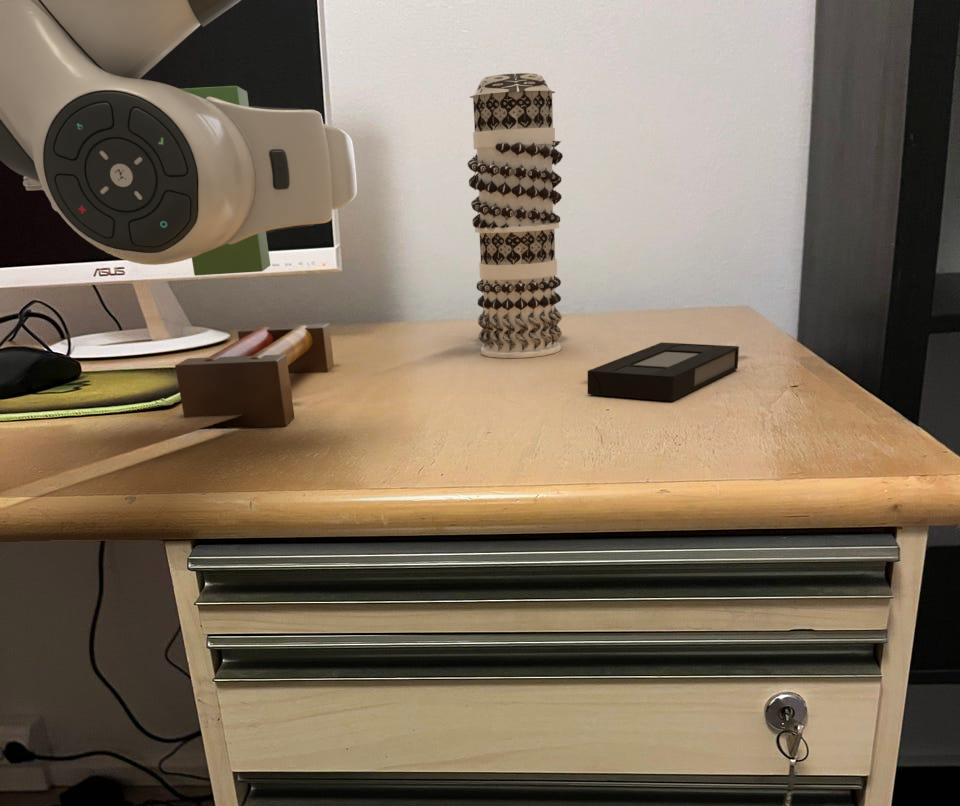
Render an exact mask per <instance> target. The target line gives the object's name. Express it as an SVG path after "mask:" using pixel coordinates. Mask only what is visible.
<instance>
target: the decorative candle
mask: <svg viewBox="0 0 960 806" xmlns="http://www.w3.org/2000/svg"><path fill="white" fill-rule="evenodd" d="M555 93H556V91H553V90H552V89H550V88H549V86H548V84H547V82H546V80H545V79H544V78H543V76H542V75H541V74H539V73H531V72H530V73H529V72H524V73H523V72H521V73H519V72H518V73H503V74H495V75H489V76H485V77H483V78H482V79H481V80H480V82H479V84H478V87H477V89H476V91H475V93H474V94H472V95H471V96H469V99H472V103H473V121H474V123H473V124H474V132H472V138H473V139H472V140H473V149H474V150H476V153H475V155H473V156H472V158H470V159H469V160H468V161H467V167H468V169H469V170H470V171H471V172H473V173H474V174H473V176H471V177H470V178H469V179H468V186H469V187H470V188H472V189H474V191H475V192H476V191H478V195H477V196H476V197H475V199H473V200H472V201H471V203H470V206H471V208H472V210H473V211H475V212H476V213H477V215H475V216H474V217H473V218H472V226H473V227H474V233H477V234H479V251H480V262H479V264H478V266H479V267H478V268H479V279H480V280H479V281H478V282H476V290H478V291H479V292H481V293H482V295H481V296H480V297H479V298H478V299H477V306H478V307H481V308H482V309H483V310H482V313H481V314H480V315H479V316H478V317H477V324H478V326H479V327H480V328H482V329H481V330H480V331H479V333H478V340H479V342H481V343H482V344H483V346H481V347H480V355H482V356H484V357H490V358H498V359H523V358H525V359H526V358H535V357H543V356H548V355H553V354H556V353H558V352H560V351H561V349H562V347H561V344H560V343H559V342H557V341H558V339H559V338H560V337H562V334H563V333H562V330H561V327H559V325H558V324H559V323H560V322H561V321H562V319H563V316H562V314H561V312H560V311H559V310H558V309H557V308H556V305H557V304H558V303H559V302H561V301H562V297H561V296H560V294H559V293H557V291H555V289H557V288H559V287H560V286H561V284H562V281H561V279H560V278H559V277H558V276H557V275H558V260H557V258H556V245H555V244H556V243H555V241H556V239H555V232H556V231H555V229H559V228H560V222H561V216H560V215H558V214H556V213H555V212H554V207H555V206H556V205H557V204H558V203H559V202H560V201H561V200H562V197H563V196H562V194H561V193H559V192H558V191H557V190H556V189H555V188H556V187H558V185H559V184H561V182H562V177H561V175H559V174H558V173H556V171H555V170H553V165H554V166H557V164H559V163H560V162H561V161H562V159H563V157H564V155H563V153H562V152H561V151H559V150H558V149H557V148H556V147H557V146H559V145H560V144H561V142H562V140H556V128H555V127H554V122H553V121H554V120H553V119H554V118H553V115H554V114H553V112H554V111H553V110H554V109H553V94H555Z"/></svg>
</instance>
